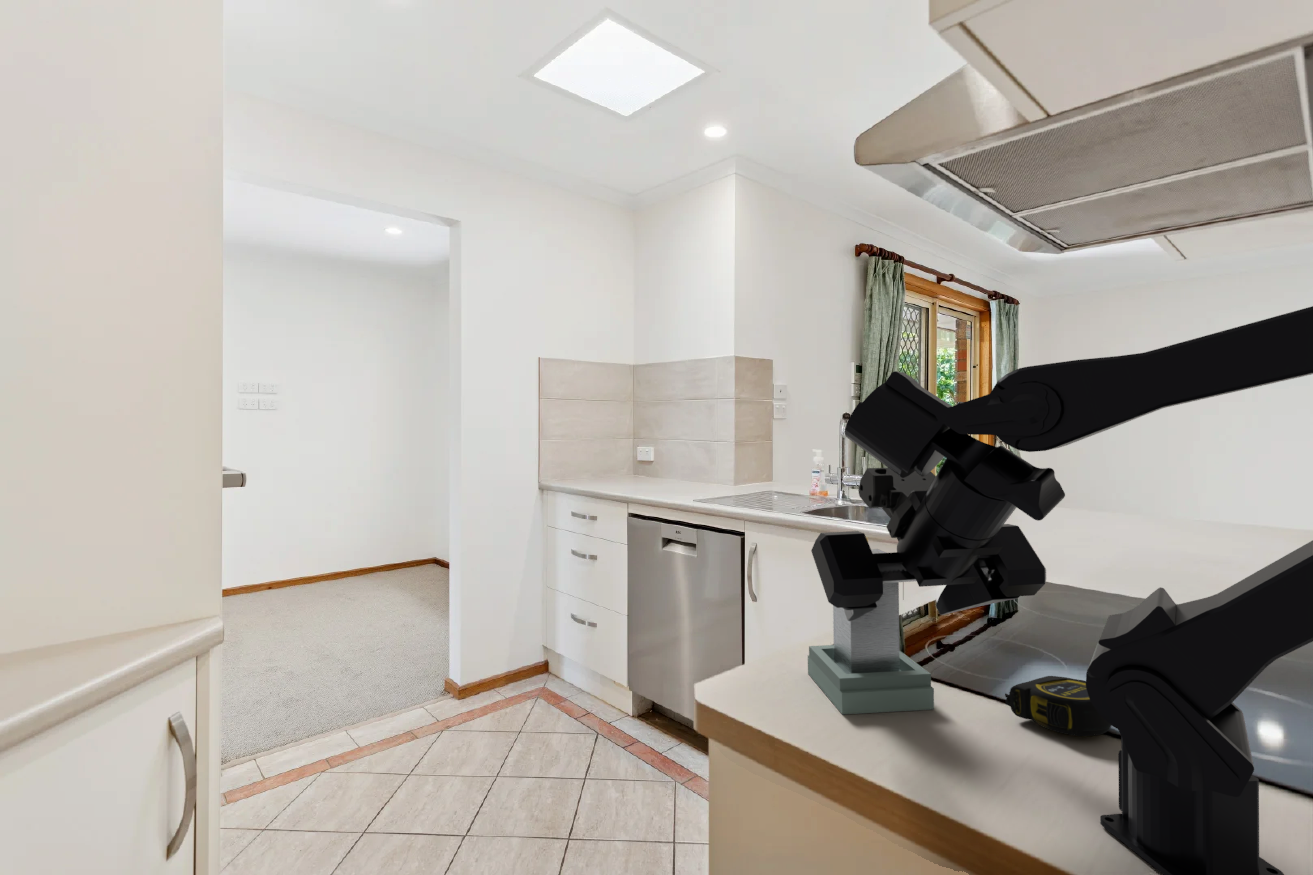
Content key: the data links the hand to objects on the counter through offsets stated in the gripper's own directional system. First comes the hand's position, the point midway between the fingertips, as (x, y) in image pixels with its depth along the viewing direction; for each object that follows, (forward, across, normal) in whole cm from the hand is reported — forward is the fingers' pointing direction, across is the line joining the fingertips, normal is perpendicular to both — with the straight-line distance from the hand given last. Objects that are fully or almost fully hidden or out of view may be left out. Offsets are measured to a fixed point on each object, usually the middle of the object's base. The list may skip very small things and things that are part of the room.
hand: (894, 612), depth 60 cm
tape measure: (+4, -13, +10) cm, 17 cm away
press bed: (+10, +1, +3) cm, 11 cm away
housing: (+9, +1, +2) cm, 9 cm away
